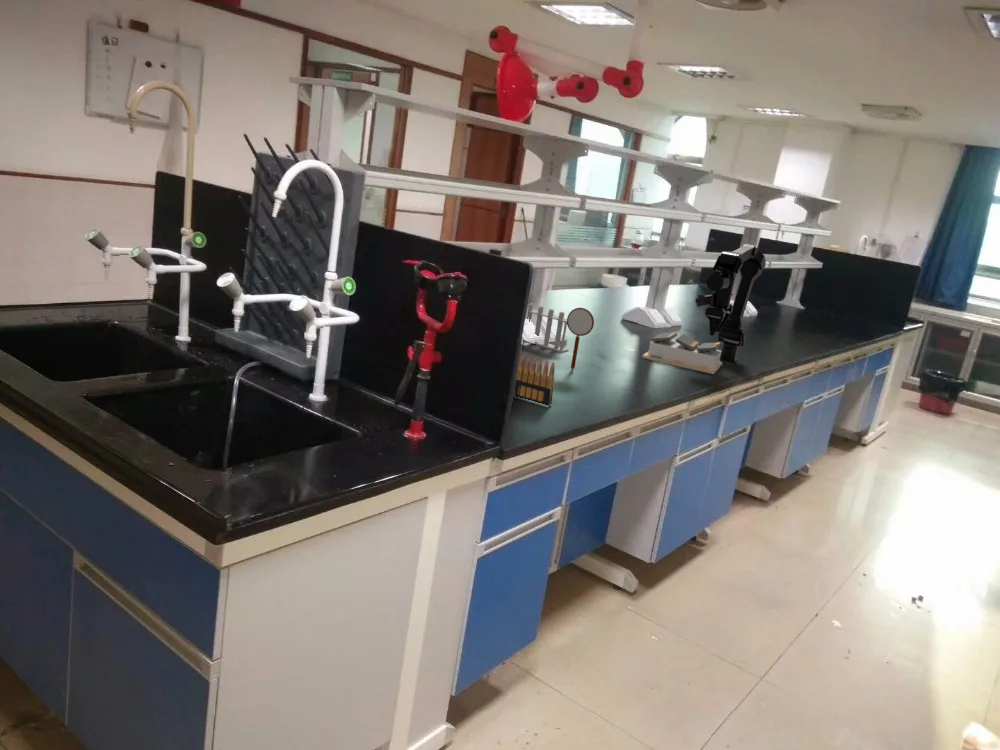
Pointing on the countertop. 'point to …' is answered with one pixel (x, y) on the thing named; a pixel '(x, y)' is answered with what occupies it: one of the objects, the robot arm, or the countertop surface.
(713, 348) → the switch
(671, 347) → the switch unit
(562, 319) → the grey picket fence
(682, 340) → the switch middle
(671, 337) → the switch
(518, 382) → the ammunition clip
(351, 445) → the countertop surface
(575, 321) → the magnifying glass
